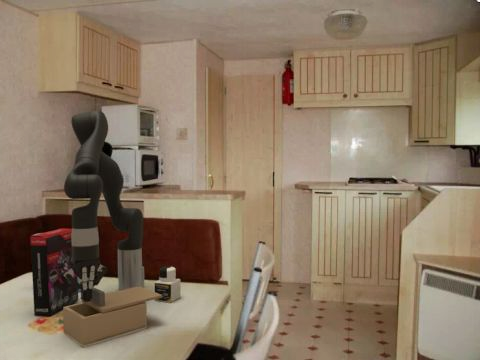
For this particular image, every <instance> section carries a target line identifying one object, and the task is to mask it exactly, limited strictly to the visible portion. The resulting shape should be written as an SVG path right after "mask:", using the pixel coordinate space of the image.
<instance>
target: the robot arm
mask: <svg viewBox="0 0 480 360" xmlns="http://www.w3.org/2000/svg"><path fill="white" fill-rule="evenodd" d="M105 114H106V113H104V112H103V111H102V110H100V109H96V110H91V111H86V112H82V113H77V114H74V115H72V116H71V121H70V122H71V127H72V130H73V132H74V134H75V136H76V138H77V140H78V142H79V145H80V147H79V149H78V151H77V152H76V155H75V160H74V165H73V168H71V170H70V172H69V174H68V175H67V177H66V179H65V181H64V183H63V184H64V185H63V191H64V192H63V193H65V194H64V195H66V196H67V198H69V199H71V200H84V199H85V200H86V199H87V200H89V202H88V204H86V205H82V206H77V207H75V208H73V209H72V211H71V229H72V235H71V244H72V264H71V269H70V270H69V271H68V272H67V273H66V272H65V273H64V274H63V276H64V277H65V278H66V279H67V280H68V281H69V282H70V283H71V284H72V285H73V286H74V287H75V288H77V289H81V291H80V299H81V301H82V300H83V301H84V302H89V301H91V299H92V288H93V287H94V288H95V286H99V284H100V282H101V281H102V279H103V278H104V276H105V275H106V272H107V271H108V267H107V266H104V265H102V264H101V261H100V259H99V258H100V248H99V247H100V244H99V242H100V238H99V229H98V228H99V227H98V210H99V208H98V207H99V204H100V200H101V197H102V196H103V198H104V201H105V204H106V206H107V209H108V213H109V216H110V220H111V223H112V226H113V227H114V229H115V230H117V231H119V232H128V237H126V238H125V239H122V240H119V241H118V242H117V277H118V278H117V280H118V281H117V282H118V283H117V284H118V285H117V286H118V287H117V288H118V290H117V291H121V290H125V289H130V288H134V287H139V286H140V287H143V288H145V266H143V256H142V255H143V254H142V253H143V252H142V247H143V246H142V243H143V238H144V215H143V212H142V210H141V209H139V208H135V207H134V208H133V207H124V206H123V204H122V202H121V193H122V190H123V188H124V180H125V179H124V176H123V174H122V171H121V168H120V166H119V164H118V163H117V162H116V161H115V160H114V159H113V157H112V158H111V157H110V156H109V155H108V154H106V153H105V152H103V151H102V149H103V147H104V145H105V142H106V139H107V136H108V134H109V123H108V120H107V117H106V115H105ZM73 272H74V273H75V274H76V276H77V277H78V280H79V283H78V282H77V281H76V280H75V279H74V278H73V277H74V274H73Z"/></svg>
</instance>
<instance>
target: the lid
mask: <svg viewBox="0 0 480 360" xmlns="http://www.w3.org/2000/svg"><path fill="white" fill-rule="evenodd" d="M159 298H162V295H161V294H158V293H156V292H155V291H153V290H150V289H147V288H145V287H144V288H143V287H140V286H139V287H134V288H130V289H125V290H121V291H118V290H117V291H113V292H108V293H106V292H105V291H102V290H101V289H98V288H96V287H95V286H94V287H93V288H92V299H91V301H89V302H84V301H83V300H82V299H81V303H85V304H87V305H89V306H91V307H93V308H94V309H96V310H98V311H100V312H102V313H104V312H108V311H112V310H115V309H119V308H123V307H127V306H131V305H135V304H139V303H143V302H146V303H147V302H151V301H155V299H159Z"/></svg>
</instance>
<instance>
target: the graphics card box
mask: <svg viewBox="0 0 480 360" xmlns="http://www.w3.org/2000/svg"><path fill="white" fill-rule="evenodd" d="M40 233H41V234H38V233H36V234H37V235H34V234H32V235H30V238H29V239H30V254H31V255H30V257H31V271H32V272H31V273H32V274H31V276H32V290H33V291H32V293H33V294H32V296H33V311H34V313H33V314H34V316H41V317H42V316H45V317H46V316H47V317H51V316H52V315H54V314H56V313H57V312H60V311H63V307H66V306H70V305H73V304H74V303H76V302H78V301H79V292H78V289H77V288H75V287H74V286H73V285H72V284H71V283H70V282H69V281H68V280H67V279H66V278H65V277H64V276H63V274H64V273H65V272H66V273H67V272H68V271H69V270H70V269H71V264H72V244H71V235H72V228H62V227H61V228H58V229H55V230H50V231H46V232H40ZM73 274H74V277H73V278H74V279H75V280H76V281H77V276H76V274H75V273H74V272H73Z"/></svg>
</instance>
